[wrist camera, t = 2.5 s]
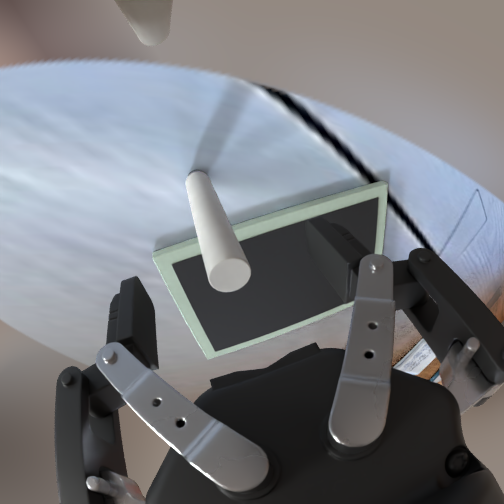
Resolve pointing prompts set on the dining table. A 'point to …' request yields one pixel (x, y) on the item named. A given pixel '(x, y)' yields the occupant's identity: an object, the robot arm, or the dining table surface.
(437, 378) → the external hard drive
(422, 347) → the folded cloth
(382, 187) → the tablet
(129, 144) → the dining table surface
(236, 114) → the dining table surface
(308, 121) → the dining table surface
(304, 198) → the dining table surface
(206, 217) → the stylus
